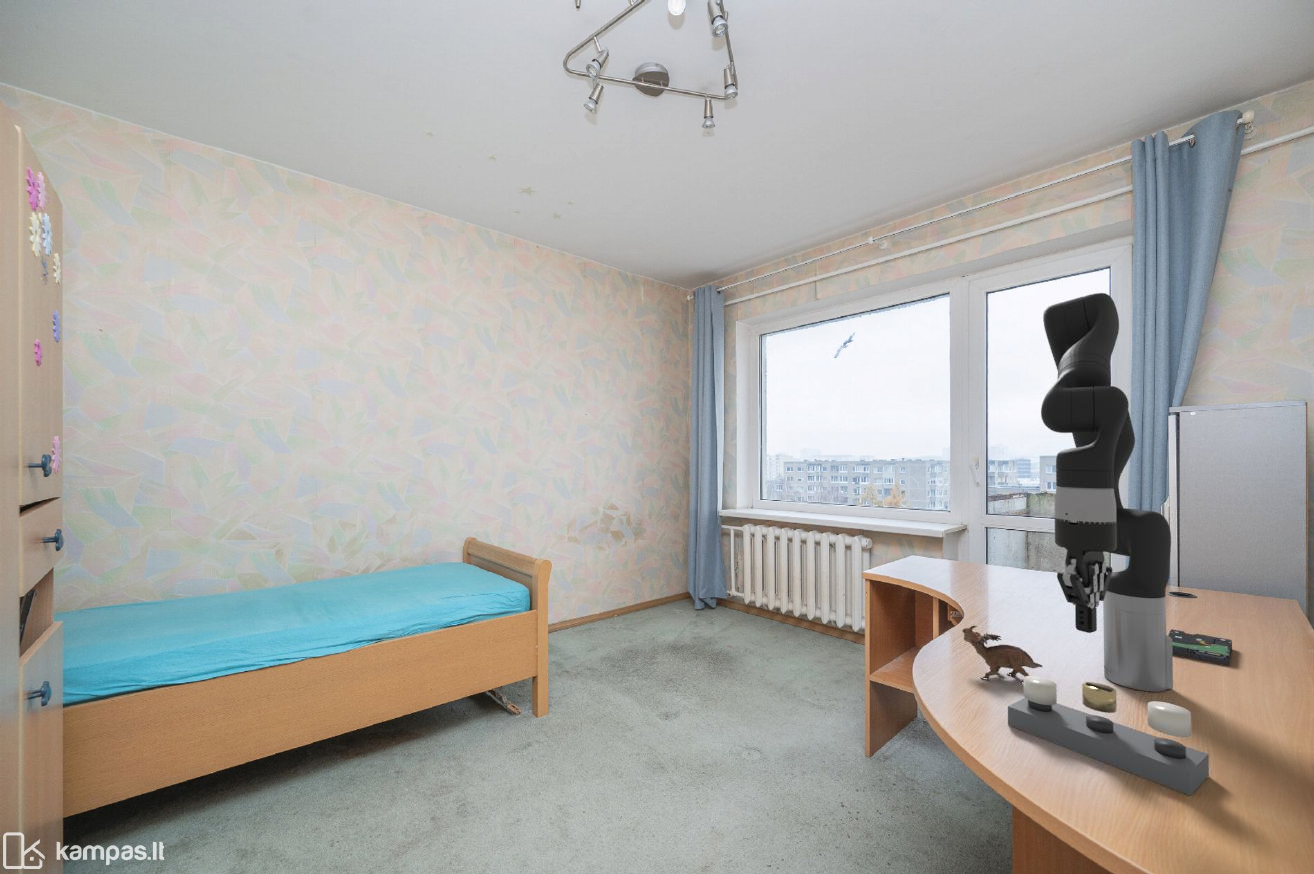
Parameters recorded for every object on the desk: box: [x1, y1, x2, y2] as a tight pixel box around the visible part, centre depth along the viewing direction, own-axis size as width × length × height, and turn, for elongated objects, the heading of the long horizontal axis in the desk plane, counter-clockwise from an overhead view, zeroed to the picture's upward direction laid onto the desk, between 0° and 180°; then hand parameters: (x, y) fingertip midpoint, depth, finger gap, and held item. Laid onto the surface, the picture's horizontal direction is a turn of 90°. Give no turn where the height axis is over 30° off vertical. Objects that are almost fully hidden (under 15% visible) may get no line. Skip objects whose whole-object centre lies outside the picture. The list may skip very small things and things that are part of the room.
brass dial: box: [1081, 681, 1118, 714], centre depth 84 cm, size 4×4×3 cm
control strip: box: [1007, 697, 1210, 796], centre depth 83 cm, size 22×8×4 cm, turn 33°
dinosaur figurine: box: [962, 625, 1043, 683], centre depth 109 cm, size 14×6×9 cm, turn 67°
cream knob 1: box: [1023, 675, 1058, 705], centre depth 90 cm, size 4×4×3 cm
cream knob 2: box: [1147, 701, 1192, 738], centre depth 77 cm, size 4×4×3 cm
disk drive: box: [1167, 628, 1233, 667], centre depth 124 cm, size 10×3×15 cm
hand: (1086, 630), depth 85 cm, fingers closed
